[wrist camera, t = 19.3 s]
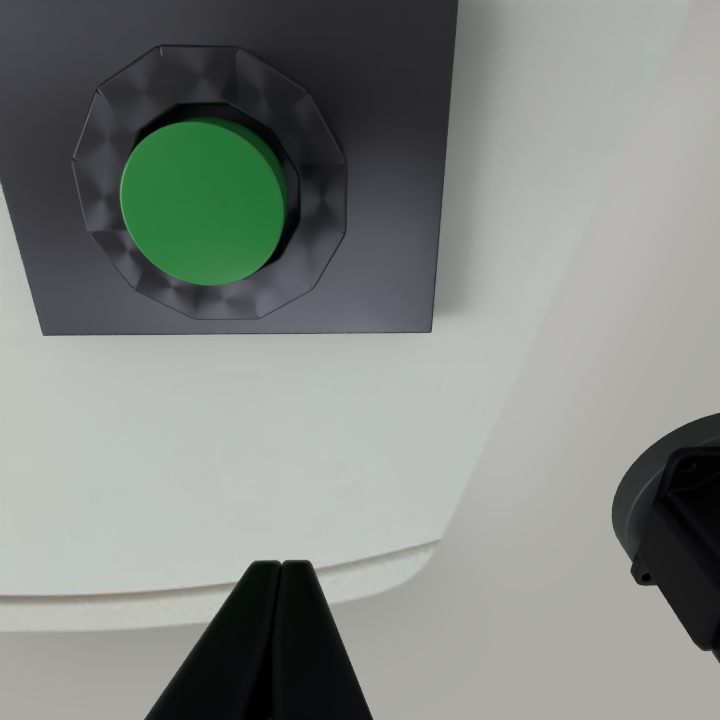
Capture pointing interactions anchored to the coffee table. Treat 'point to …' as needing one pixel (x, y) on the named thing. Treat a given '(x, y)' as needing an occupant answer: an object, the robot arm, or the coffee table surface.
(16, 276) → the coffee table surface
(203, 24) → the control block
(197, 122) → the button
